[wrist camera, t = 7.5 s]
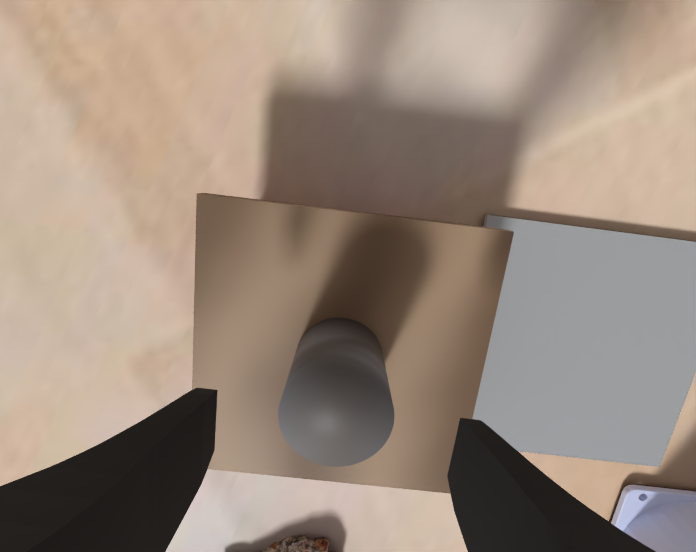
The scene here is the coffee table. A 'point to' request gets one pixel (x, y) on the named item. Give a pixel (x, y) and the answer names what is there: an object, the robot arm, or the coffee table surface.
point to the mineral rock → (299, 545)
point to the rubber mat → (590, 342)
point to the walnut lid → (341, 338)
